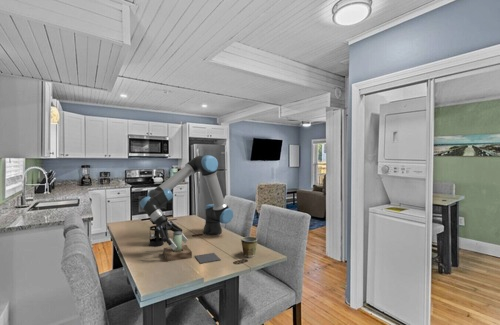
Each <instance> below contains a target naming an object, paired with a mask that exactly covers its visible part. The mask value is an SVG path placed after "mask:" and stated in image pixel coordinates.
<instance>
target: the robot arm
mask: <svg viewBox="0 0 500 325" xmlns="http://www.w3.org/2000/svg"><path fill="white" fill-rule="evenodd" d="M218 167H219V161H218V159H217V158H216V157H215V156H213V155H208V154H206V155H198V156H195V157H193V158H192V159H191V160H189V161H188V162H187V163H185V166H183V167H182V168H181V169H180V170H179V171H177V172H175V173H174V174H173V175H172V176H170V177H169V178H167V179H166V180H165V181H164V182H162V183H161V184H160V185H158V186H157V187H156V188H153V189H150V190H149V191H148V192H147V196H145V197H143V198H142V199H141V200H140V201H139V205H140V208H141V209H142V210H143V211H144V212H145V213H146V215H147V216H148V217H149V218H150V220H152V221H153V222H154V223H155V224H154V225H155V226H157V230H158V231H159V234H160V237H159V238H161V239H162V241H163V243H167V244H168V246H169V247H171V248H172V249H173V250H174V249H175V248H176V247H177V246H176V245H175V244H174V242H173V240H172V238H170V237H169V231H171V232H177V231H181V232H182V243H183V244H185V243H187V242H188V240H189V239H188V238H187V237H186V236H185V234H184V233H183V229H182V228H181V227H179V226H178V225H177V224H176V223H174V222H173V221H172V220H169V218H168V217H167V216H166V215H165V213H164V212H163V210H161V208H160V207H162V206H163V205H165V204H166V203H168V202H169V201H171V200H172V199H173V198H174V194H173V192H172V190H173V189H175V188H176V187H177V186H178V185H179V184H181V183H182V182H183V181H185V180H186V179H187V178H188V177H190V176H191V175H195V174H196V173H198V172H200V173H201V176H202V177H204V179H205V181H206V182H205V183H206V184H207V187H208V192H209V194H210V198H211V200H212V203H211V204H206V205H205V223H204V226H203V229H202V234H204V235H207V236H217V235H221V234H222V232H223V229H222V225H221V224H225V225H227V224H229V223H230V222H231V221H232V219H233V218H234V211H233V209H231V208H229V207H230V206H229V204H228V203H227V202H226V201H225V199H224V195H223V192H222V188H221V185H220V182H219V179H218V175H217V173H218ZM163 238H164V239H163Z"/></svg>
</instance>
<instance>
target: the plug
mask: <svg viewBox="0 0 500 325" xmlns="http://www.w3.org/2000/svg"><path fill="white" fill-rule="evenodd" d="M172 232H173V231H172ZM182 233H183V231H182V232H181V231H177V232H173V233H172V234H173V236H172V237H173V238H172V239H173V240H172V241H173V242H174V244H175V245H176V246H177V247H176V248H175V249H174V250H173V252H178V251H182V244H183V241H182Z"/></svg>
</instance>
